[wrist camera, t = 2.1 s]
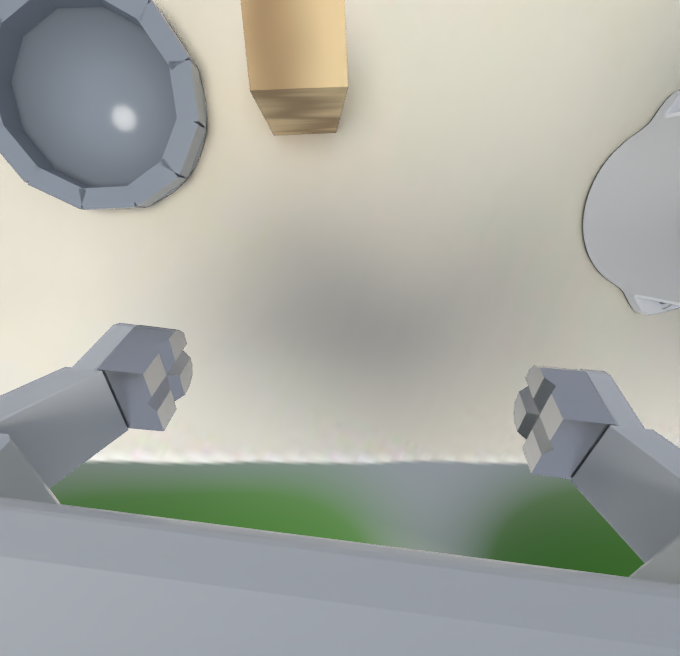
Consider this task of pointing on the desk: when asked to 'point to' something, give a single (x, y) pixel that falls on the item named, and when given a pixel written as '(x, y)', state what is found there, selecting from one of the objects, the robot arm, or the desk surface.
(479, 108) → the desk surface
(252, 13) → the oak block
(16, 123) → the bowl
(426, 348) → the desk surface
